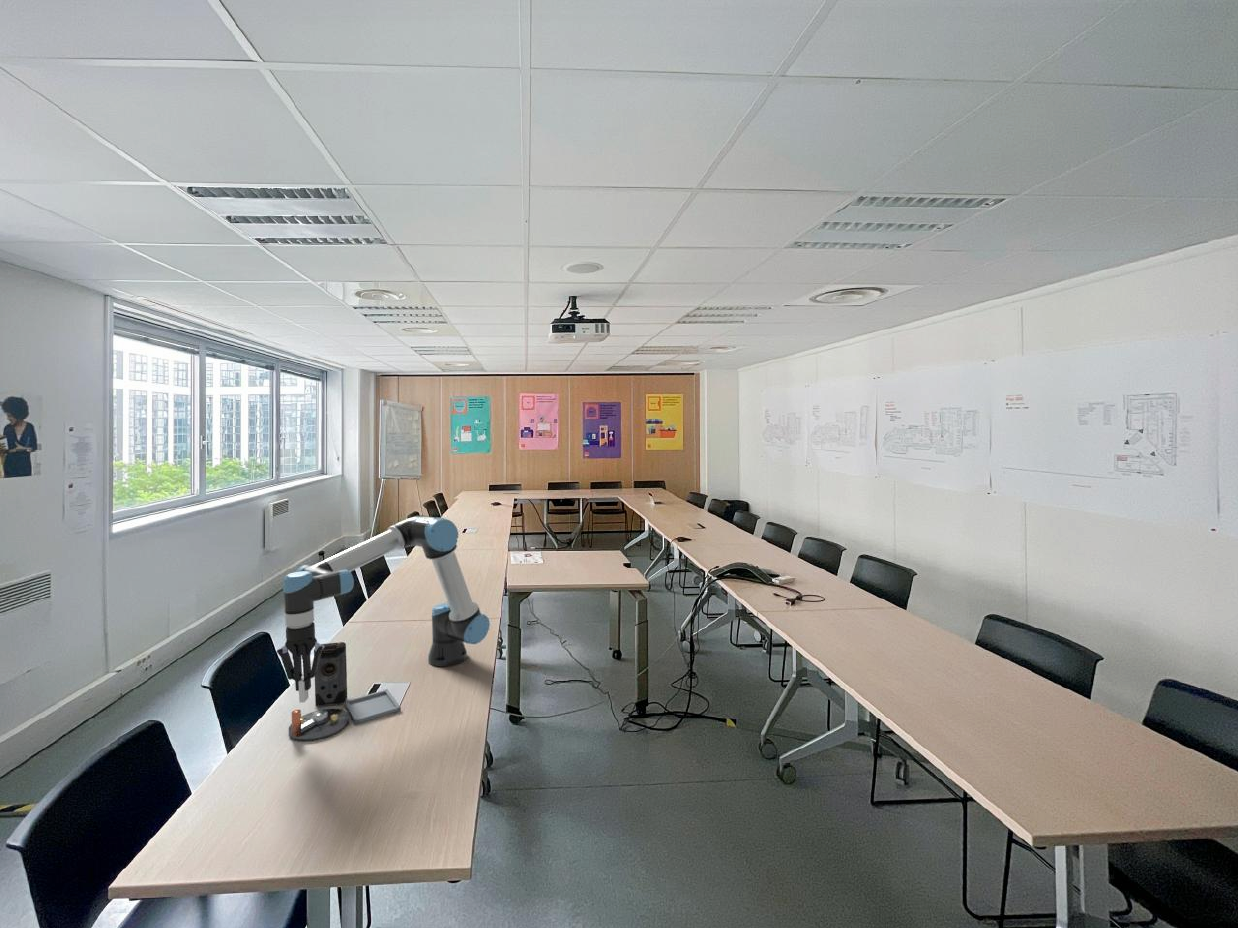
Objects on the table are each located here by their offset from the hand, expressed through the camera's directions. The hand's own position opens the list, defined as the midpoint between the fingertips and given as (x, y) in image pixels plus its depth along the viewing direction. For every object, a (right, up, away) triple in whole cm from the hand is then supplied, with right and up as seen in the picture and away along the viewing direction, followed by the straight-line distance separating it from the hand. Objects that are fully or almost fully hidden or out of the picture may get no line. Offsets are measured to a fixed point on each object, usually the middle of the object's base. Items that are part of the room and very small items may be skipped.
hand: (304, 700), depth 165 cm
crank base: (+1, -12, +7) cm, 14 cm away
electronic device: (-4, -11, +23) cm, 26 cm away
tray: (+12, -11, +19) cm, 25 cm away
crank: (0, -10, +4) cm, 11 cm away
